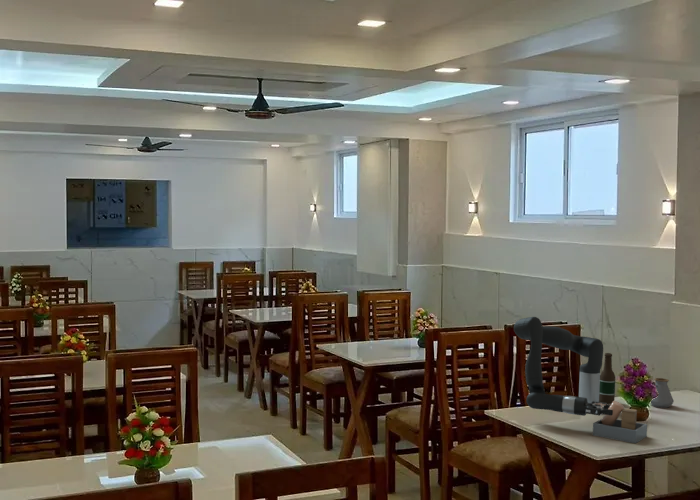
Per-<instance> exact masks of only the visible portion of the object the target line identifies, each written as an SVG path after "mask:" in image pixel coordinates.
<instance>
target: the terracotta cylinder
mask: <svg viewBox="0 0 700 500" xmlns="http://www.w3.org/2000/svg"><path fill="white" fill-rule="evenodd" d="M609 405H610V407H609V408H608V409H610V410H613V415H604V414H603V417H602V418H601V419H602V420H601V422H602V424H604V425H609V426H613V425H614V423H615V421H616V420H617V419H618V418H619V417H620V415H622V410H623V409H624V408H625V406H624V405H623V404H622V403H620V402H618V401H616V400H614V401H613V402H612V404H609Z"/></svg>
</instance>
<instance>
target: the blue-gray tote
mask: <svg viewBox="0 0 700 500" xmlns="http://www.w3.org/2000/svg"><path fill="white" fill-rule="evenodd" d="M601 420H602V418H600V419H599V420H597V421H595V422H593V423H592V436H594V437H601V438H604V439H605V438H606V439H611V440H616V441H621V442H626V443H630V444H637V443H639V442H640V441H641V440H644V439H646V437H647V436H648V435H647V434H648V433H647V432H648V424H646V423H642V422H641V423H640V422H636V430H631V429H625V428H621V422H622V419H618V418H617V420H616V421H615V423H614V425H613V426H609V425H604V424H602V422H601Z"/></svg>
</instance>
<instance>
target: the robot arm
mask: <svg viewBox="0 0 700 500" xmlns="http://www.w3.org/2000/svg"><path fill="white" fill-rule="evenodd" d="M513 332H514V333H515V335H516V336H517V337H518V338H519V339H521V340H528V341H530V350H529V353H528V356H527V359H526V362H525V367H524V368H525V370H524V372H525V373H524V374H525V382H526V385H527V387H528V392H529V394H528V395H527V396H526V404H527V406H528V407H530V408H531V409H534V410H542V411H543V410H546V411H552V412H558V413H564V414H569V415H576V416H581V417H585V416H586V415H592V416H593V415H594V416H597V417H598V416H602V415H603V416H604V415H613V410H610V409H608V408H609V407H610V405H611V404H607V403H603V402H599V390H600V375H601V368H602V366H603V358H604V344H603V341H602V339H600V338H594V337H590V336H589V337H588V336H582V335H581V336H580V335H575V334H573V333H572V332H571V331H569V330H568V329H565V328H562V327H559V326H551V325H543V322H542V321H541V320H540V318H539V317H537V316H529V317H524V318H519V319H518V320H517V321H515V323H514V325H513ZM543 344H544V345H546V346H549V347H552V348H555V349H559V350H564V351H567V350H568V351H571V352H573V353H576V354H578V355H579V356H582V357H584V358H587V359H588V360H587V362H586V363H582V364H580V365H579V381H578V382H579V383H578V396H574V395H563V394H547V393H546V390H545V387H544V383H543V382H544V381H543V370H542V369H543V368H542V350H543Z"/></svg>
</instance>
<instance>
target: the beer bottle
mask: <svg viewBox="0 0 700 500" xmlns="http://www.w3.org/2000/svg"><path fill="white" fill-rule="evenodd" d="M603 357H604V362H603V363H604V364H603V370H601V371H600V390H599V402H603V403H607V405H611V404H612V402H613V401H615V396H616V394H615V393H616V375H615V373H614V370H613V368H612V366H613V365H612V361H613V359H612V357H613V353H611V352H605V353H604V354H603Z"/></svg>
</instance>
